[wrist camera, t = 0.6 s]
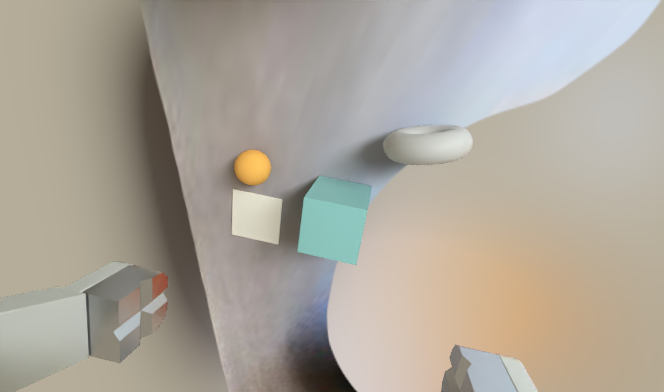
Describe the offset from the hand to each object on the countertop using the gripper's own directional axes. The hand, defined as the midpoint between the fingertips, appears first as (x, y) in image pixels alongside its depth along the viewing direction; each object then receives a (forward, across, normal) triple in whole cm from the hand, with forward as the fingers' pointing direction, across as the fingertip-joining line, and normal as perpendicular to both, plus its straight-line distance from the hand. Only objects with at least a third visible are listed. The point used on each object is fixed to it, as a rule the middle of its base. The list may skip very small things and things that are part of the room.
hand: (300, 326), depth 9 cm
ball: (+34, +16, +4) cm, 38 cm away
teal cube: (+38, +3, +8) cm, 38 cm away
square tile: (+38, +16, +12) cm, 43 cm away
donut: (+36, -6, -4) cm, 37 cm away
